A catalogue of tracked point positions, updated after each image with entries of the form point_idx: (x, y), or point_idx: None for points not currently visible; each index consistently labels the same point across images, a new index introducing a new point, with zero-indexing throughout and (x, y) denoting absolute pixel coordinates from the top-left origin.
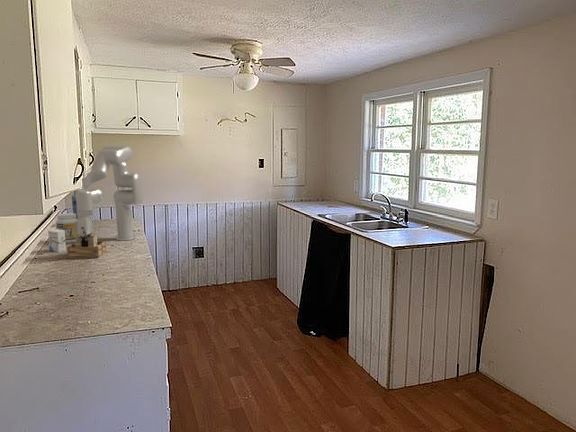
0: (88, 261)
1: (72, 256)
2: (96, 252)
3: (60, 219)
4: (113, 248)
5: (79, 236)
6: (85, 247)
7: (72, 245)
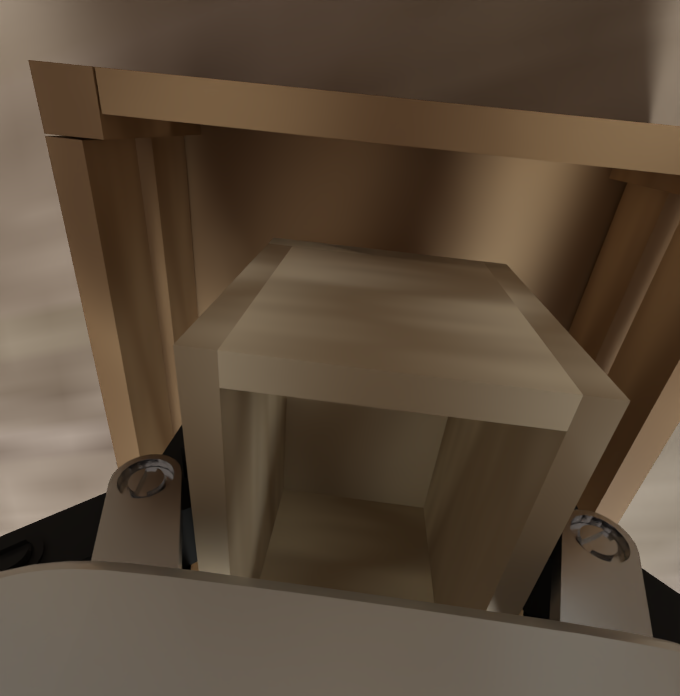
0: (57, 391)
1: (180, 169)
2: None
3: None
4: (650, 548)
5: (548, 404)
6: (116, 442)
7: (339, 137)
